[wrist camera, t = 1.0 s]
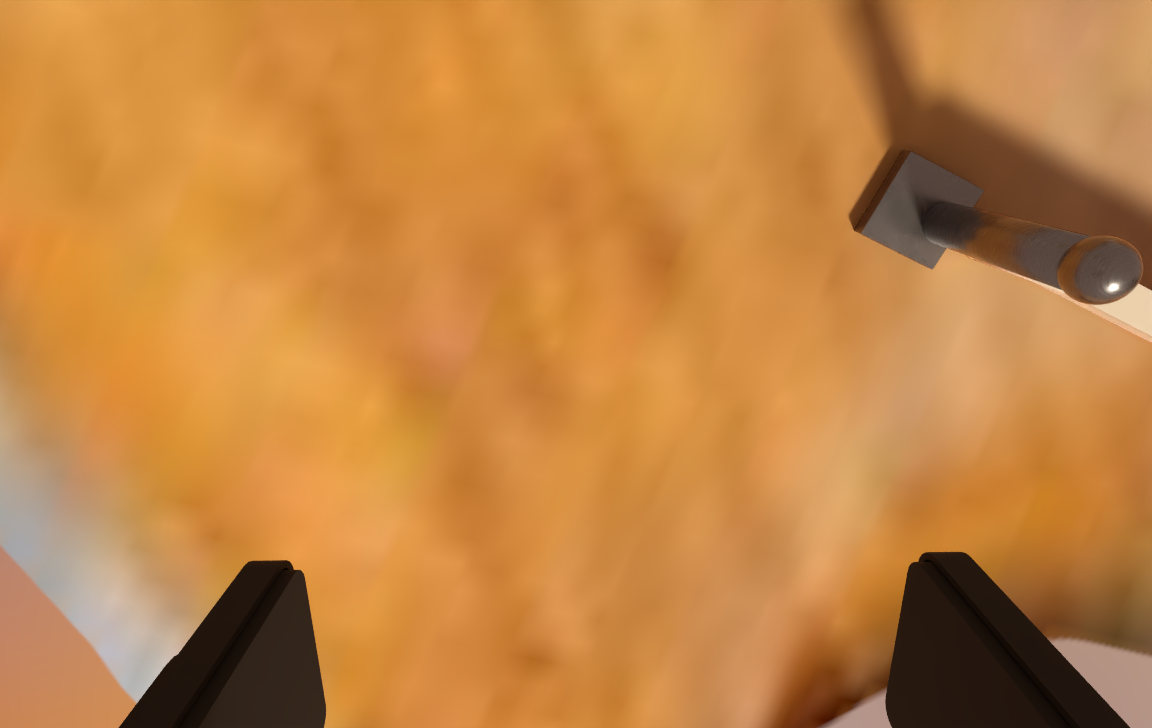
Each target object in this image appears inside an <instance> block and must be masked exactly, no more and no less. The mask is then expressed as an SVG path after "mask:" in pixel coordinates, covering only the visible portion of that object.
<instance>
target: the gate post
mask: <svg viewBox="0 0 1152 728" xmlns="http://www.w3.org/2000/svg"><path fill="white" fill-rule="evenodd" d="M983 192H984V190H983V189H981V188H979V187H977V186H975V185H973V184H972V183H970V182H968V181H966V180H964V179H962V178H960V177H958V176H957V175H955V174H953V173H951V172H949V171H947V170H945V169H943V168H942V167H940V166H938V165H936V164H934V163H932V162H930V161H928V160H927V159H925V158H923V157H921V156H919V155H917V154H915V153H913V152H911V151H905V150H902V152H901V154H900V155H899V157H898V159H897V160H896V162H895V164H894V165H893V167H892V169H891V170H890V172H889V174H888V175H887V177H886V179H885V180H884V182H883V184H882V185H881V187H880V189H879V190H878V192H877V194H876V195H875V197H874V199H873V200H872V202H871V204H870V205H869V207H868V208H867V210H866V212H865V213H864V215H863V217H862V218H861V220H860V222H859V223H858V225H857V227H856V228H855V230H854V231H856V232H858V233H860V234H862V235H864V236H866V237H868V238H870V239H872V240H874V241H876V242H878V243H880V244H882V245H884V246H886V247H888V248H890V249H892V250H894V251H896V252H898V253H900V254H902V255H904V256H906V257H908V258H910V259H912V260H914V261H916V262H918V263H919V264H921V265H923V266H926V267H928V268H930V269H932V270H933V268H934V266H935V265H936V263H937V262H938V260H939V259H940V257H941V256H942V254H943V253H944V251H945V250H946V248H948V249H951V250H954V251H956V252H959V253H962V254H964V255H967V256H970V257H973V258H975V259H978V260H981V261H984V262H986V263H989V264H992V265H994V266H997V267H1000V268H1003V269H1005V270H1008V271H1011V272H1014V273H1016V274H1019V275H1022V276H1024V277H1027V278H1030V279H1033V280H1035V281H1038V282H1041V283H1044V284H1046V285H1049V286H1052V287H1055V288H1057V289H1060V290H1063V291H1064V293H1065V294H1067V295H1068V296H1069V297H1070V298H1072V299H1074V300H1076V301H1078V302H1081V303H1085V304H1090V305H1103V304H1108V303H1112V302H1115V301H1118V300H1120V299H1122V298H1124V297H1125V296H1127V295H1128V294H1130V293H1131V292H1132V291H1133V290H1134V289H1135V288H1136V286H1137V285H1138V283H1139V282H1140V280H1141V277H1142V274H1143V260H1142V257H1141V255H1140V253H1139V252H1138V250H1137V249H1136V248H1135V247H1134V246H1133V245H1132V244H1131V243H1129V242H1127V241H1126V240H1124V239H1121V238H1118V237H1115V236H1108V235H1099V236H1088V235H1084V234H1080V233H1076V232H1072V231H1067V230H1063V229H1059V228H1055V227H1051V226H1047V225H1043V224H1039V223H1034V222H1030V221H1026V220H1022V219H1018V218H1014V217H1010V216H1006V215H1001V214H997V213H993V212H989V211H985V210H981V209H977V208H973V207H974V205H975V204H976V202H977V201H978V199H979V198H980V196H981V195H982V193H983Z"/></svg>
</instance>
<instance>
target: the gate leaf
mask: <svg viewBox="0 0 1152 728" xmlns="http://www.w3.org/2000/svg"><path fill="white" fill-rule="evenodd" d="M966 256H967V255H966ZM967 257H968V258H971V259H973V260H976V261H979V262H981V263H984V264H987V265H989V266H992V267H995V268H997V269H1000V270H1003V271H1006V272H1008V273H1011V274H1014V275H1016V276H1019V277H1022V278H1024V279H1027V280H1030V281H1032V282H1034V283H1036V284H1038V285H1040V286H1042V287H1044V288H1046V289H1048V290H1050V291H1052V292H1054V293H1056V294H1058V295H1060V296H1061V297H1063V298H1065V299H1067V300H1069V301H1071V302H1073V303H1075V304H1077V305H1079V306H1081V307H1083V308H1085V309H1087V310H1089V311H1091V312H1093V313H1095V314H1097V315H1099V316H1100V317H1102V318H1104V319H1106V320H1108V321H1110V322H1112V323H1114V324H1116V325H1118V326H1120V327H1122V328H1124V329H1126V330H1128V331H1130V332H1132V333H1134V334H1136V335H1137V336H1139V337H1141V338H1143V339H1145V340H1147V341H1149V342H1151V343H1152V290H1150V289H1148V288H1146V287H1144V286H1142V285H1140V284H1138V285H1137V286H1136V288H1135V289H1134V290H1133V291H1132V292H1131V293H1130V294H1128V295H1127V296H1125V297H1124V298H1122V299H1120V300H1118V301H1115V302H1112V303H1108V304H1103V305H1090V304H1085V303H1081V302H1078V301H1076V300H1074V299H1072V298H1070V297H1069V296H1068V295H1067V294H1065V293H1064V291H1063V290H1060V289H1057V288H1055V287H1052V286H1049V285H1046V284H1044V283H1041V282H1038V281H1035V280H1033V279H1030V278H1027V277H1024V276H1022V275H1019V274H1016V273H1014V272H1011V271H1008V270H1005V269H1003V268H1000V267H997V266H994V265H992V264H989V263H986V262H984V261H981V260H978V259H975V258H973V257H970V256H967Z"/></svg>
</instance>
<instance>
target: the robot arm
mask: <svg viewBox="0 0 1152 728" xmlns="http://www.w3.org/2000/svg"><path fill="white" fill-rule="evenodd" d="M885 702H886V711H887V716H888V719H889V722H890V724H891V726H892V728H1130V727H1129V726H1128V725H1127V724H1126V723H1125V722H1124V720H1123V719H1122V718H1121V717H1120V716H1119V715H1118V714H1117V713H1116V712H1115V711H1114V710H1113V709H1112V708H1111V707H1110V706H1109V704H1107V702H1106V701H1105V700H1104V699H1103V698H1102V697H1101V696H1100V695H1099V694H1098V693H1097V692H1096V691H1095V690H1094V688H1093V687H1092V686H1091V685H1090V684H1089V683H1088V682H1087V681H1086V680H1085V679H1084V678H1083V677H1082V676H1081V675H1080V673H1079V672H1078V671H1077V670H1076V669H1075V668H1074V667H1073V666H1072V665H1071V664H1070V663H1069V662H1068V661H1067V660H1066V658H1065V657H1064V656H1063V655H1062V654H1061V653H1060V652H1059V651H1058V650H1057V649H1056V648H1055V647H1054V646H1053V645H1052V644H1051V642H1050V641H1049V640H1048V639H1047V638H1046V637H1045V636H1044V635H1043V634H1042V633H1041V632H1040V631H1039V630H1038V629H1037V628H1036V626H1035V625H1034V624H1033V623H1032V622H1031V621H1030V620H1029V619H1028V618H1027V617H1026V616H1025V615H1024V614H1023V613H1022V611H1021V610H1020V609H1019V608H1018V607H1017V606H1016V605H1015V604H1014V603H1013V602H1012V601H1011V600H1010V599H1009V598H1008V597H1007V595H1006V594H1005V593H1004V592H1003V591H1002V590H1001V589H1000V588H999V587H998V586H997V585H996V584H995V583H994V582H993V580H992V579H991V578H990V577H989V576H988V575H987V574H986V573H985V572H984V571H983V570H982V569H981V568H980V567H979V566H978V564H977V563H976V562H975V561H974V560H973V559H972V558H971V557H970V556H969V555H967V554H966V553H963V552H926V553H924V554H922V555H921V557H920V558H919V561H918V562H913V563H911V565H910V566H909V569H908V573H907V579H906V584H905V590H904V596H903V601H902V607H901V613H900V619H899V624H898V630H897V636H896V641H895V647H894V653H893V658H892V664H891V670H890V676H889V681H888V687H887V693H886V701H885ZM325 717H326V704H325V698H324V691H323V685H322V679H321V673H320V667H319V661H318V655H317V649H316V643H315V637H314V631H313V625H312V618H311V612H310V606H309V600H308V594H307V588H306V582H305V577H304V574H303V572H302V571H301V570H294V569H293V566H292V564H291V563H290V562H289V561H287V560H280V561H250V562H248V563H247V564H246V565H245V566H244V567H243V568H242V570H241V571H240V572H239V574H238V575H237V576H236V578H235V579H234V580H233V582H232V583H231V584H230V586H229V587H228V588H227V590H226V591H225V592H224V594H223V595H222V596H221V598H220V599H219V600H218V602H217V603H216V604H215V606H214V607H213V608H212V610H211V611H210V612H209V614H208V615H207V616H206V618H205V619H204V620H203V622H202V623H201V624H200V626H199V627H198V628H197V630H196V631H195V632H194V634H193V635H192V636H191V638H190V639H189V640H188V642H187V643H186V644H185V646H184V647H183V648H182V650H181V651H180V652H179V654H178V655H176V656H174V657H173V658H172V659H171V660H170V661H169V663H168V664H167V665H166V666H165V667H164V668H163V670H162V671H161V672H160V674H159V675H158V676H157V678H156V679H155V680H154V682H153V683H152V684H151V686H150V687H149V688H148V690H147V691H146V692H145V694H144V695H143V696H142V698H141V699H140V700H139V702H138V703H137V704H136V706H135V707H134V708H133V710H132V711H131V712H130V713H129V715H128V716H127V717H126V719H125V720H124V721H123V723H122V724H121V726H120V727H119V728H324V724H325Z"/></svg>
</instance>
